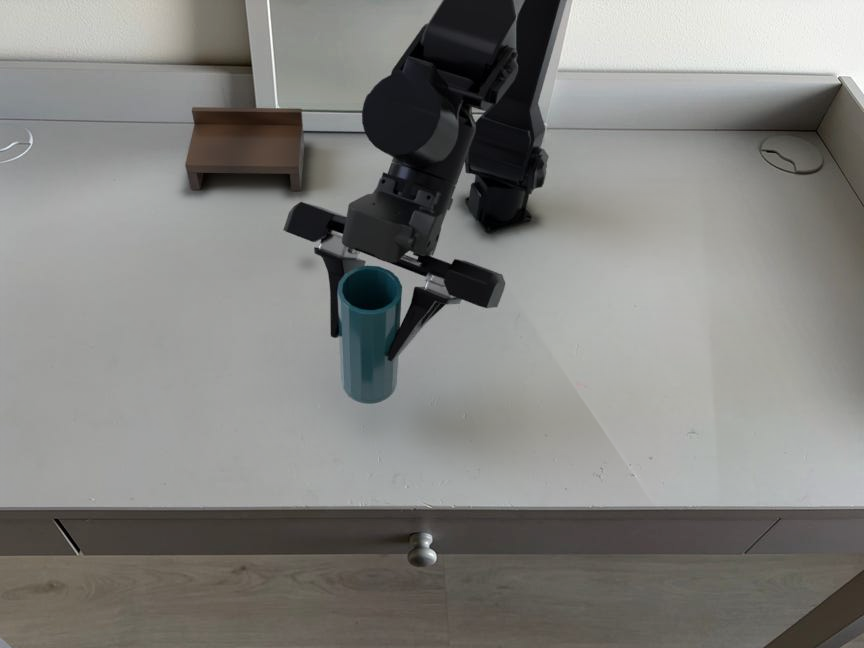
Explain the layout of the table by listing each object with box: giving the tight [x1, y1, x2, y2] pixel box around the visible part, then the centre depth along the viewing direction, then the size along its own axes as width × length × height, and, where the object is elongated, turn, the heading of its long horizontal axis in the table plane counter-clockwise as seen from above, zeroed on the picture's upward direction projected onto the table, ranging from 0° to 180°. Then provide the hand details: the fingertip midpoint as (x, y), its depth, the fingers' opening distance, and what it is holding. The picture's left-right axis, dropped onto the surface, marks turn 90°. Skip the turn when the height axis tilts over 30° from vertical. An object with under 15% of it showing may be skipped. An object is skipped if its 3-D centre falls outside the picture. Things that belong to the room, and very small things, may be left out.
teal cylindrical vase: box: [337, 265, 403, 405], centre depth 68 cm, size 5×5×13 cm
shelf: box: [184, 106, 305, 192], centre depth 100 cm, size 14×9×6 cm, turn 90°
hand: (361, 348), depth 67 cm, fingers closed on teal cylindrical vase, 5 cm apart
